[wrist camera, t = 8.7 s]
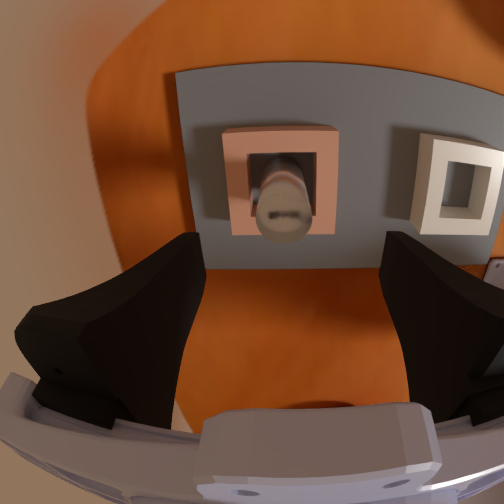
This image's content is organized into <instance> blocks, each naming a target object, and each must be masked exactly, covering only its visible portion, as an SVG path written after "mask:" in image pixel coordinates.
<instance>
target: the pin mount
mask: <svg viewBox="0 0 504 504" xmlns="http://www.w3.org/2000/svg"><path fill="white" fill-rule="evenodd" d="M448 161H454V162H461V163H468V164H475V170H474V177H473V183H472V188H471V193H470V198H469V203H468V208H466V207H449V206H441V203H442V198H443V192H444V186H445V180H446V173H447V165H448ZM503 168H504V151H502V150H500V149H498V148H496V147H494V146H492V145H489V144H484V143H479V142H474V141H469V140H464V139H458V138H452V137H446V136H440V135H433V134H426V133H420V139H419V151H418V162H417V171H416V179H415V187H414V194H413V201H412V208H411V214H410V220H409V221H410V222H411V223H412V225H413V226H414V227H415V228H416V230H417V231H418V232H419V234H439V235H489V231H490V228H491V224H492V220H493V216H494V212H495V208H496V204H497V199H498V195H499V190H500V185H501V180H502V174H503Z"/></svg>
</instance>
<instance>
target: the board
mask: <svg viewBox="0 0 504 504" xmlns="http://www.w3.org/2000/svg"><path fill="white" fill-rule="evenodd" d="M175 77H176V87H177V96H178V105H179V114H180V123H181V131H182V139H183V146H184V154H185V161H186V168H187V175H188V182H189V189H190V196H191V202H192V208H193V215H194V221H195V227H196V232H199V235H200V241H201V247H202V253H203V259H204V264H205V269H332V268H380V265H381V260H382V255H383V249H384V243H385V238H386V231H402V232H404V233H406V234H408V235H409V236H411V237H413V238H414V239H416V240H417V241H419V242H420V243H422V244H423V245H425V246H426V247H428V248H429V249H431V250H432V251H434V252H435V253H437V254H438V255H440V256H441V257H443V258H444V259H446V260H447V261H449V262H450V263H452V264H454V265H480V264H487V263H488V260H489V257H490V254H491V251H492V248H493V245H494V242H495V239H496V235H497V232H498V228H499V225H500V221H501V217H502V213H503V209H504V168H503V174H502V180H501V185H500V190H499V195H498V199H497V204H496V208H495V212H494V216H493V220H492V224H491V228H490V231H489V235H439V234H419V232H418V231H417V230H416V228H415V227H414V226H413V225H412V223H411V222H410V221H409V220H410V214H411V208H412V201H413V194H414V187H415V179H416V171H417V162H418V151H419V139H420V133H426V134H433V135H440V136H446V137H452V138H458V139H464V140H469V141H474V142H479V143H484V144H489V145H492V146H494V147H496V148H498V149H500V150H502V151H504V96H502V95H499V94H496V93H493V92H490V91H487V90H484V89H480V88H477V87H474V86H470V85H467V84H463V83H459V82H455V81H451V80H447V79H443V78H439V77H434V76H429V75H424V74H419V73H414V72H408V71H402V70H396V69H389V68H381V67H373V66H363V65H352V64H338V63H315V62H279V63H256V64H241V65H230V66H220V67H212V68H204V69H197V70H190V71H184V72H178V73H175ZM260 126H333V127H334V128H336V129H337V130H338V131H339V155H338V186H337V206H336V222H335V234H306V235H305V236H304V237H303V238H301V239H300V240H298V241H296V242H293V243H289V244H280V243H275V242H272V241H270V240H268V239H267V238H265V237H264V236H263V235H232V228H231V219H230V210H229V200H228V191H227V181H226V171H225V161H224V150H223V140H222V133H223V132H224V131H226V130H227V129H228V128H241V127H260ZM281 155H284V156H289V157H291V158H293V159H295V160H296V161H297V162H298V164H299V165H300V167H301V170H302V174H303V178H304V182H305V186H306V190H307V194H308V198H309V202H310V203H313V152H278V153H250V162H251V176H252V191H253V204H258V198H259V193H260V187H261V181H262V175H263V170H264V167H265V165H266V163H267V162H268V161H269V160H270V159H272V158H273V157H276V156H281ZM474 170H475V164H468V163H461V162H454V161H448V165H447V173H446V180H445V186H444V192H443V198H442V203H441V206H449V207H466V208H468V203H469V198H470V193H471V188H472V183H473V177H474Z"/></svg>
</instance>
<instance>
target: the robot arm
mask: <svg viewBox="0 0 504 504" xmlns="http://www.w3.org/2000/svg"><path fill="white" fill-rule="evenodd" d="M379 279H380V283H381V288H382V292H383V296H384V299H385V301H386V304H387V307H388V310H389V312H390V315H391V318H392V320H393V323H394V326H395V329H396V331H397V334H398V337H399V340H400V344H401V347H402V351H403V356H404V361H405V367H406V373H407V380H408V387H409V397H410V402H391V403H383V404H374V405H364V406H352V407H338V408H317V409H261V408H253V409H239V410H227V411H224V412H222V413H220V414H217V415H215V416H213V417H210V418H208V419H206V420H204V425H203V430H202V434H195V433H187V432H181V431H175V430H171V423H172V413H173V406H174V399H175V392H176V386H177V380H178V375H179V370H180V365H181V360H182V356H183V351H184V348H185V344H186V341H187V338H188V335H189V332H190V330H191V327H192V324H193V321H194V319H195V316H196V313H197V310H198V308H199V305H200V302H201V299H202V296H203V291H204V286H205V281H206V270H205V264H204V259H203V253H202V247H201V241H200V235H199V232H189V233H183V234H181V235H179V236H177V237H176V238H174V239H173V240H171V241H170V242H169V243H167V244H166V245H164V246H163V247H161V248H160V249H159V250H157V251H156V252H154V253H153V254H151V255H150V256H148V257H147V258H145V259H144V260H142V261H141V262H139V263H138V264H136V265H135V266H133V267H132V268H130V269H128V270H127V271H125V272H123V273H121V274H120V275H118V276H116V277H114V278H112V279H111V280H108V281H106V282H104V283H102V284H100V285H97V286H95V287H93V288H91V289H88V290H86V291H83V292H81V293H78V294H75V295H72V296H70V297H66V298H64V299H60V300H57V301H53V302H49V303H45V304H41V305H37V306H33V307H32V308H31V309H30V310H29V312H28V313H27V314H26V315H25V317H24V318H23V319H22V321H21V322H20V323H19V325H18V326H17V327H16V329H15V331H14V333H15V340H16V343H17V345H18V347H19V349H20V351H21V352H22V354H23V355H24V357H25V358H26V359H27V361H28V362H29V363H30V364H31V366H32V367H33V369H34V370H35V371H36V372H37V374H38V375H39V376H40V378H41V379H40V380H39V382H38V384H36V383H34V382H33V381H31V380H30V379H28V378H25V377H23V376H20V375H18V374H16V373H13V372H11V373H10V374H9V376H8V377H7V379H6V381H5V382H4V384H3V386H2V387H1V389H0V440H1V441H2V442H3V443H4V444H6V445H7V446H8V447H9V448H11V449H12V450H13V451H15V452H16V453H17V454H19V455H20V456H21V457H23V458H24V459H26V460H27V461H29V462H31V463H32V464H34V465H36V466H38V467H40V468H41V469H43V470H45V471H47V472H49V473H51V474H52V475H54V476H56V477H58V478H60V479H62V480H64V481H66V482H68V483H70V484H72V485H74V486H76V487H78V488H81V489H83V490H85V491H87V492H90V493H92V494H94V495H97V496H99V497H102V498H104V499H106V500H109V501H112V502H114V503H117V504H458V501H461V500H463V499H466V498H468V497H470V496H473V495H475V494H477V493H479V492H482V491H484V490H486V489H488V488H490V487H492V486H494V485H496V484H498V483H500V482H502V481H504V259H493V260H491V261H490V263H489V265H488V268H487V271H486V274H485V276H484V279H483V280H481V279H479V278H477V277H475V276H473V275H471V274H469V273H467V272H466V271H464V270H462V269H460V268H458V267H457V266H455V265H454V264H452V263H450V262H449V261H447V260H446V259H444V258H443V257H441V256H440V255H438V254H437V253H435V252H434V251H432V250H431V249H429V248H428V247H426V246H425V245H423V244H422V243H420V242H419V241H417V240H416V239H414V238H413V237H411V236H409V235H408V234H406V233H404V232H402V231H386V238H385V243H384V249H383V255H382V260H381V265H380V270H379Z"/></svg>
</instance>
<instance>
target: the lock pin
mask: <svg viewBox="0 0 504 504" xmlns="http://www.w3.org/2000/svg"><path fill="white" fill-rule="evenodd" d="M312 219H313V218H312V211H311V207H310V202H309V198H308V194H307V190H306V186H305V182H304V178H303V174H302V170H301V167H300V165H299V164H298V162H297V161H296V160H295V159H293V158H291V157H289V156H284V155H281V156H276V157H273V158H272V159H270V160H269V161H268V162H267V163H266V165H265V167H264V170H263V175H262V181H261V187H260V193H259V198H258V204H257V210H256V225H257V227H258V230H259V231H260V233H261V234H262V235H263V236H264V237H265V238H267V239H268V240H270V241H272V242H275V243H280V244H289V243H293V242H296V241H298V240H300V239H301V238H303V237H304V236H305V235H306V234H307V233H308V231H309V230H310V228H311V225H312Z"/></svg>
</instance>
